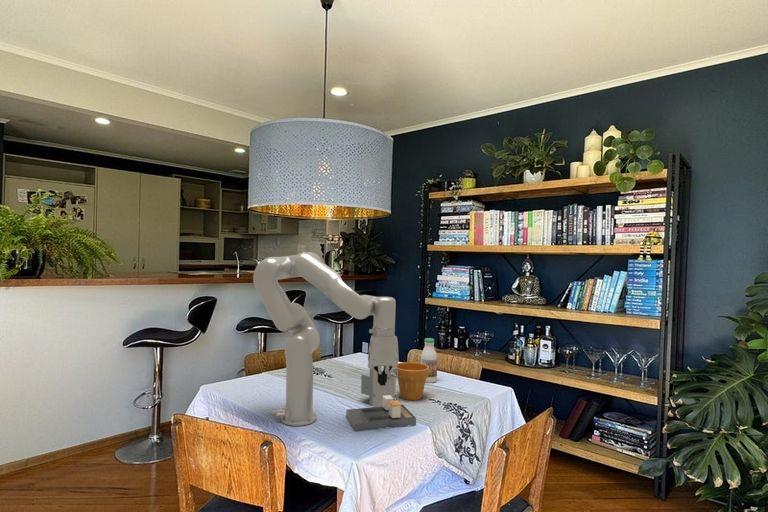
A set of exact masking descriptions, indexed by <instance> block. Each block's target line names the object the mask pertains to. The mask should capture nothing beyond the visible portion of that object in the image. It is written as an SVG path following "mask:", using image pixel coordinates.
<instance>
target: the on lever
mask: <svg viewBox="0 0 768 512" xmlns="http://www.w3.org/2000/svg"><path fill="white" fill-rule="evenodd" d="M389 401H393V398H392V396H391V395H386V396H383V401H382V407H383V408H384V409H385V410H389Z"/></svg>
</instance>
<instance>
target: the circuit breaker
mask: <svg viewBox="0 0 768 512" xmlns="http://www.w3.org/2000/svg"><path fill="white" fill-rule="evenodd" d="M383 367H384V366H381V368H382V372H383ZM395 374H396V375H395ZM360 379H361V381H360V382H361V386H360V388H361V389H360V390H361V391H360V394H363V395H366V396H368V397H369V398H368V399H369V403H368V404H369V406H371V405H372V406H371V407H374V406H375V407H382V401H383V396H386V395H391V396H392V398H393V401H396V400H397V401H398V392H396V390H397V389H396V388H397V387H396V386H397V380H396V379H398V371H397V367H396V368H392V369H391V370H390V371H389V372H388V374H387V382H386V385H385V386H384V385H382V386H381V385H380V384H379V383H378V381H377V379H378V372H377V371H376V370H375V369H370V368H369V371H368V372H366V373H363V374H361V378H360Z"/></svg>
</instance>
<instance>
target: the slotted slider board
mask: <svg viewBox="0 0 768 512" xmlns="http://www.w3.org/2000/svg"><path fill="white" fill-rule="evenodd" d="M345 412H346V413H345V414H346V415H345V416H346V419H347V420H348V422H349V424H350V426H351V428H352V429H353V431H354V432H363V431H371V430H372V429H373V430H380V429H379V428H383V429H387V428H386V427H393V428H396V427H395V426H402V427H409V426H408V425H412V426H417V418H416V416H415V415H414V414H413V413H412V412H411V411H410V410H409V409H408V408H407V407H406V406H405V405H404V404H401V414H400V417H398V418H392V417H391V416H390V415H389V410H385V409H384V408H383V407H374V406H370V407H363V408H361V407H360V408H351V409H346V411H345Z"/></svg>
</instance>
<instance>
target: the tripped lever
mask: <svg viewBox="0 0 768 512" xmlns="http://www.w3.org/2000/svg"><path fill="white" fill-rule="evenodd" d="M395 400H396V399H395ZM401 405H402V403H400V401H398V399H397V400H396V401H389V415H390V416H391V417H392V418H398V417H400V414H401Z"/></svg>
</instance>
